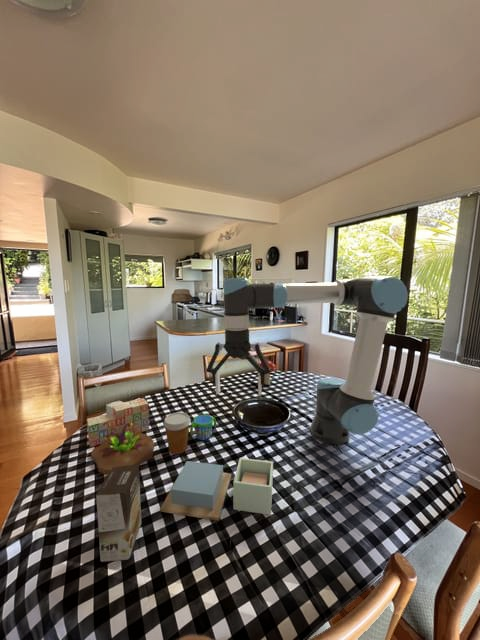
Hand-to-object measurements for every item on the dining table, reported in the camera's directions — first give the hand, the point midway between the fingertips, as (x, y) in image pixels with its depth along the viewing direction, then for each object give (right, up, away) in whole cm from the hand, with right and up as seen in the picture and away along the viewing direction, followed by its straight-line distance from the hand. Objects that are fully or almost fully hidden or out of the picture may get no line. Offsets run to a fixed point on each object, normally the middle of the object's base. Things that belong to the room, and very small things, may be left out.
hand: (238, 393), depth 84 cm
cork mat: (-12, -26, -8) cm, 30 cm away
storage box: (+4, -27, -10) cm, 29 cm away
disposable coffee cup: (-22, -24, +12) cm, 35 cm away
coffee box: (-27, -29, -23) cm, 45 cm away
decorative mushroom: (+17, -16, +74) cm, 77 cm away
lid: (-12, -26, -8) cm, 29 cm away
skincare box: (-54, -21, +32) cm, 67 cm away
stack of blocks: (-47, -23, +20) cm, 56 cm away
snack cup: (-14, -23, +19) cm, 33 cm away
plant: (-40, -25, +9) cm, 48 cm away
